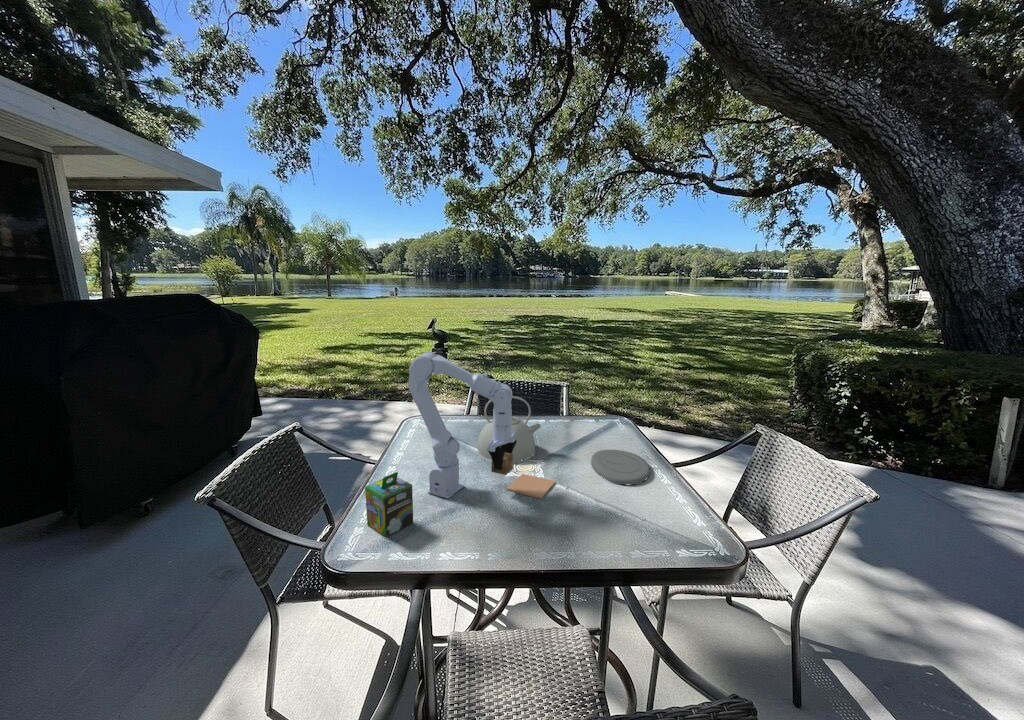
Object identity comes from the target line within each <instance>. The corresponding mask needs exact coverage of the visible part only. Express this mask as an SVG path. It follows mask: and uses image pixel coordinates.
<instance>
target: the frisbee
mask: <svg viewBox="0 0 1024 720" xmlns="http://www.w3.org/2000/svg"><path fill="white" fill-rule="evenodd" d="M590 463H591V464H590V465H591V467H592V469H593V468H594V469H593V470H594V471H595V472H596V473H597V475H599V476H600V477H601V476H602V477H603V478H602V477H601V478H602V479H604V478H605V479H606V480H605V479H604V480H605V481H607V480H608V481H607V482H609V481H610V482H609V483H612V482H613V483H612V484H615V483H617V484H616V485H619V484H636V483H639V484H641V483H640V482H642V481H644V480H645V479H646V478H647V477H648V476H650V471H651V469H650V465H649V463H648V462H647V461H646V459H644V458H643V457H641V456H640V455H638V454H635V453H633V452H630V451H626V450H622V449H621V450H620V449H601V450H597V451H595V452H594V453H593V454H592V456H591V459H590ZM648 478H649V477H648ZM644 482H645V481H644ZM642 483H643V482H642ZM636 485H637V484H636Z"/></svg>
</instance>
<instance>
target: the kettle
mask: <svg viewBox="0 0 1024 720" xmlns="http://www.w3.org/2000/svg"><path fill="white" fill-rule="evenodd" d="M512 399H515V400H519V401H522V402H523V403H525V405H526V406H527V409H528V416H527V417H526V420H525V421H523V420H522V419H520V418H519V417H517V416H513V415H512V431H516V432H515V437H514V439H515V440H516V441H517V443H516V445H515V447H514V449H513V452H512V454H513V463H519V462H518V461H520V462H522V461H521V460H524V461H526V460H525V459H527V458H529V457H531V456H532V455H533V454H534V453H535V454H536V443H535V442H536V441H535V437H534V436H535V435H534V433H535V432H536V431H537V430H539V429H540V428H541V427H542V426H543V425H541V424H540V423H537V422H536V423H534V424H532V425H530V426H529V425H528V422H529V420H530V418H531V414H532V409H531V406H530V403H529V402H528V401H527V400H526V399H524V398H521V397H520V396H516V395H515V396H514V395H512ZM491 402H493V401H492V399H488V402H486V404H485V406H484V412H483V413H484V417H485V420H486V421H487V423H486V424H485V425H484V426H483V428H482V429H481V432H480V433H479V436H478V440H477V450H478V452H477V454H478V453H479V454H480V455H481V456H482V457H484V458H486V459H489V460H492V457H491V455H490V453H489V452H488V445H489V444H490V442H491V440H492V438H493V419H491V420H490V418H489V417H488V415H487V410H488V406H489V404H491ZM500 448H501V446H500ZM479 454H478V455H479ZM535 454H534V455H535ZM481 456H480V457H481ZM482 457H481V458H482ZM532 457H533V456H532ZM532 457H531V458H532ZM484 458H483V459H484ZM486 459H485V460H486ZM529 459H530V458H529ZM489 460H488V461H489ZM527 460H528V459H527Z"/></svg>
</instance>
